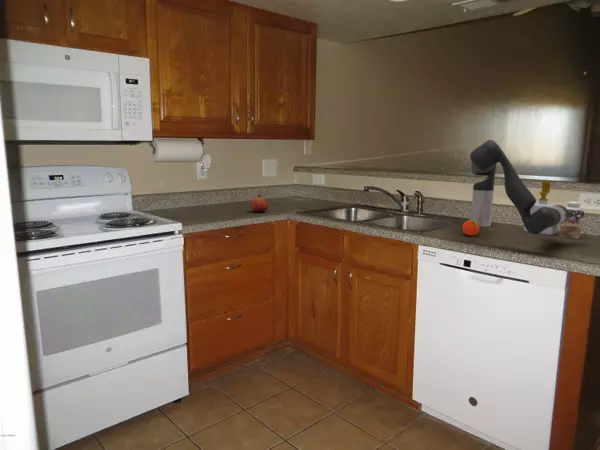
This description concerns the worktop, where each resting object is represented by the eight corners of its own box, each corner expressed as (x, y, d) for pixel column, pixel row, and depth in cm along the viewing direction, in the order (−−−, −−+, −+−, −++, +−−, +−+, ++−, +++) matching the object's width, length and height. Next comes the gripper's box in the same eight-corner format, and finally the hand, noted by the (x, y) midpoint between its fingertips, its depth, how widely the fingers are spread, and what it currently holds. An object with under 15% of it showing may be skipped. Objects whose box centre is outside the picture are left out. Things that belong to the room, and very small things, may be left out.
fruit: (272, 212, 256) (271, 195, 254) (259, 214, 249) (258, 196, 247) (259, 210, 264) (259, 193, 262) (246, 212, 256) (246, 194, 255)
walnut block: (559, 237, 190) (560, 225, 189) (561, 234, 195) (562, 223, 194) (578, 239, 186) (580, 227, 185) (580, 236, 191) (581, 225, 190)
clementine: (483, 237, 189) (485, 220, 188) (469, 238, 188) (470, 221, 187) (472, 233, 197) (474, 217, 196) (458, 234, 196) (459, 218, 194)
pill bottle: (561, 225, 189) (564, 202, 188) (565, 223, 193) (568, 201, 192) (577, 227, 185) (579, 203, 184) (580, 225, 189) (583, 202, 187)
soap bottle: (522, 231, 202) (527, 179, 198) (528, 229, 206) (533, 179, 202) (551, 235, 193) (557, 181, 189) (557, 233, 198) (563, 180, 193)
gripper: (576, 207, 166) (588, 203, 177) (535, 204, 176) (549, 200, 187) (574, 227, 167) (586, 222, 178) (533, 222, 177) (547, 218, 188)
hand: (567, 211), depth 182 cm, fingers open, 8 cm apart
